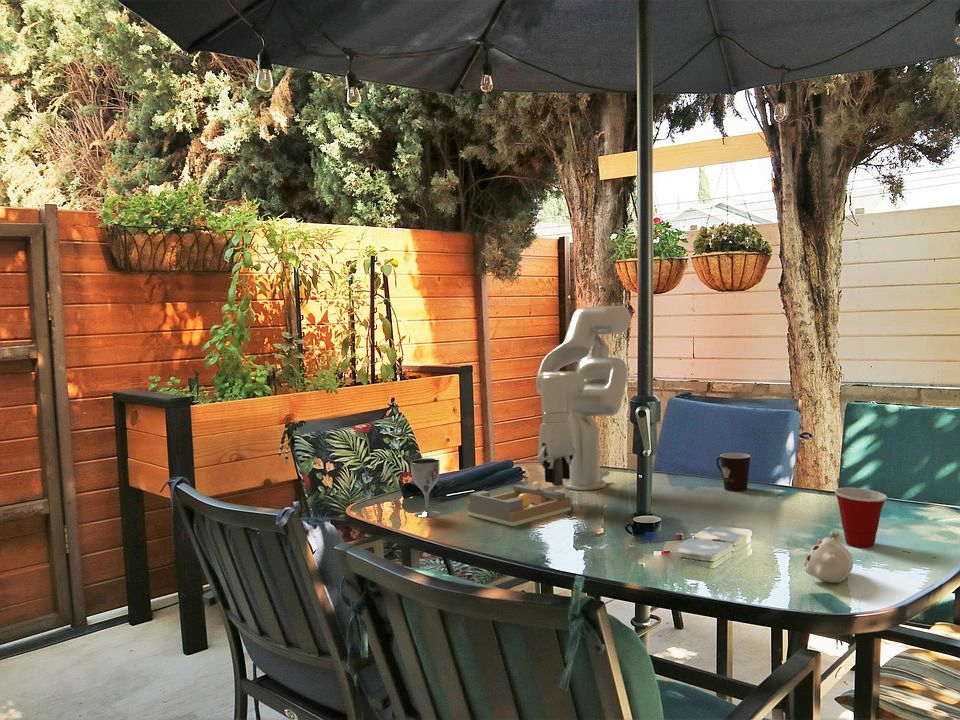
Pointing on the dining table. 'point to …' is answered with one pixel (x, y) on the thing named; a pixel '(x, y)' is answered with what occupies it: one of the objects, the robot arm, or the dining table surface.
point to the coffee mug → (734, 471)
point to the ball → (525, 499)
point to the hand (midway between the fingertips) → (557, 479)
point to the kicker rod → (540, 494)
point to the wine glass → (425, 480)
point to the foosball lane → (513, 507)
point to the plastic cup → (860, 514)
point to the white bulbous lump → (829, 560)
